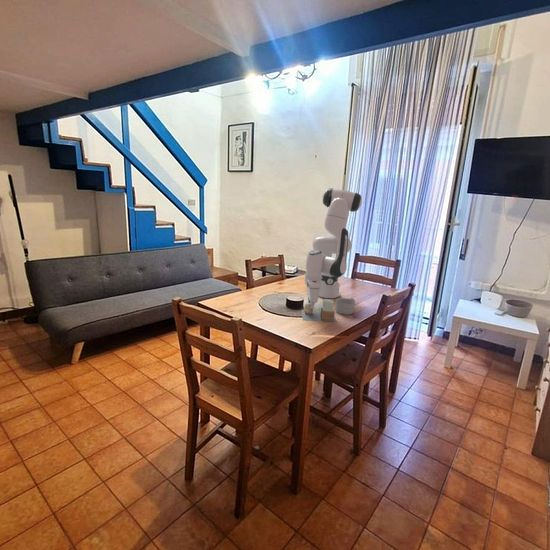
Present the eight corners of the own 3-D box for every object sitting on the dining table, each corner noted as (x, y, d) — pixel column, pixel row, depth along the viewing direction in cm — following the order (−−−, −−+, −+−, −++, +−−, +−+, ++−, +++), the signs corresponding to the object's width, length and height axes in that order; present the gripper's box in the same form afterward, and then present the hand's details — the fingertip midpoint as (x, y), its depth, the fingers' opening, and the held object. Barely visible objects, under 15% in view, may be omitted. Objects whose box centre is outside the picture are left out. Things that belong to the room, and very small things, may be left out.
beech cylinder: (304, 311, 183) (305, 302, 181) (312, 311, 183) (312, 303, 181) (304, 314, 178) (305, 305, 177) (313, 314, 178) (313, 306, 177)
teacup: (344, 318, 179) (346, 304, 177) (330, 312, 187) (331, 298, 185) (361, 314, 187) (363, 301, 185) (347, 308, 195) (348, 295, 193)
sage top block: (322, 308, 175) (323, 299, 174) (331, 308, 175) (332, 299, 174) (323, 311, 170) (324, 302, 169) (333, 312, 170) (334, 302, 169)
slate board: (300, 312, 184) (300, 310, 183) (332, 314, 184) (333, 312, 184) (302, 322, 170) (302, 320, 170) (337, 324, 170) (337, 322, 170)
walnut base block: (320, 316, 177) (321, 307, 175) (331, 317, 177) (332, 308, 176) (321, 320, 171) (322, 311, 170) (333, 321, 171) (334, 312, 170)
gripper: (304, 276, 185) (303, 299, 188) (309, 285, 165) (307, 311, 169) (315, 276, 186) (313, 299, 189) (321, 286, 166) (319, 312, 169)
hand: (310, 305), depth 178 cm, fingers open, 8 cm apart
